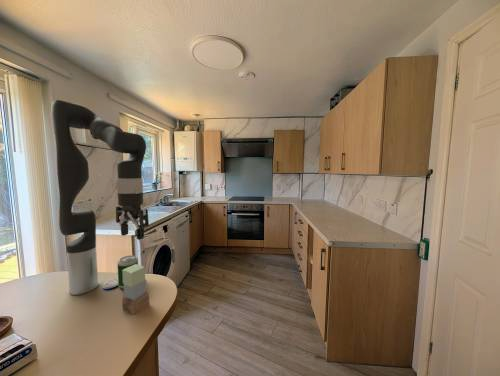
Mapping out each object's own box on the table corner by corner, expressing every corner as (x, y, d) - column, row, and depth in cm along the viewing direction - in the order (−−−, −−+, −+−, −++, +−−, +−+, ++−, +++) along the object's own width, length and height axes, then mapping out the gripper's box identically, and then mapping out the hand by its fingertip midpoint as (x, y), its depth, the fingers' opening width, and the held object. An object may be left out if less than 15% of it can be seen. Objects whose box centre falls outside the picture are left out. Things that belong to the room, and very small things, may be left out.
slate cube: (124, 296, 70) (123, 283, 69) (136, 289, 74) (136, 276, 74) (134, 300, 68) (133, 286, 67) (146, 292, 72) (146, 279, 72)
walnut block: (122, 310, 70) (122, 296, 70) (138, 300, 76) (137, 287, 75) (133, 315, 68) (133, 301, 67) (149, 304, 73) (148, 292, 73)
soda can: (129, 291, 81) (128, 263, 80) (114, 288, 83) (112, 261, 82) (142, 281, 88) (141, 255, 87) (128, 279, 90) (127, 253, 89)
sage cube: (122, 283, 69) (122, 269, 69) (136, 276, 74) (136, 263, 73) (131, 287, 67) (131, 273, 67) (145, 280, 72) (144, 266, 71)
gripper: (106, 191, 67) (109, 236, 69) (133, 193, 61) (135, 243, 63) (128, 189, 74) (130, 231, 76) (154, 191, 68) (155, 236, 70)
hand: (132, 236), depth 69 cm, fingers open, 8 cm apart
